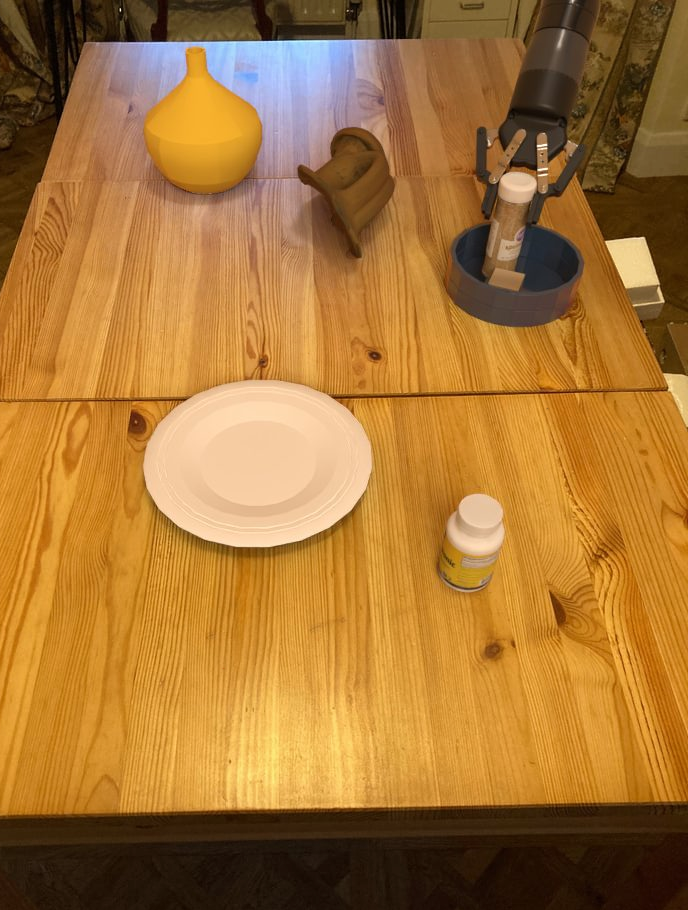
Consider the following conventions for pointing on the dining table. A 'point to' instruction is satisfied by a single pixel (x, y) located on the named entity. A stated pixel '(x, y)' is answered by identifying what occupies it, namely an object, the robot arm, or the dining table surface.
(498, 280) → the block
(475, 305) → the bowl
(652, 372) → the dining table surface
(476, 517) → the supplement bottle
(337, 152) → the brown looped sculpture
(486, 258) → the sprinkles bottle
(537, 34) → the robot arm
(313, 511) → the plate
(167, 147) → the vase
